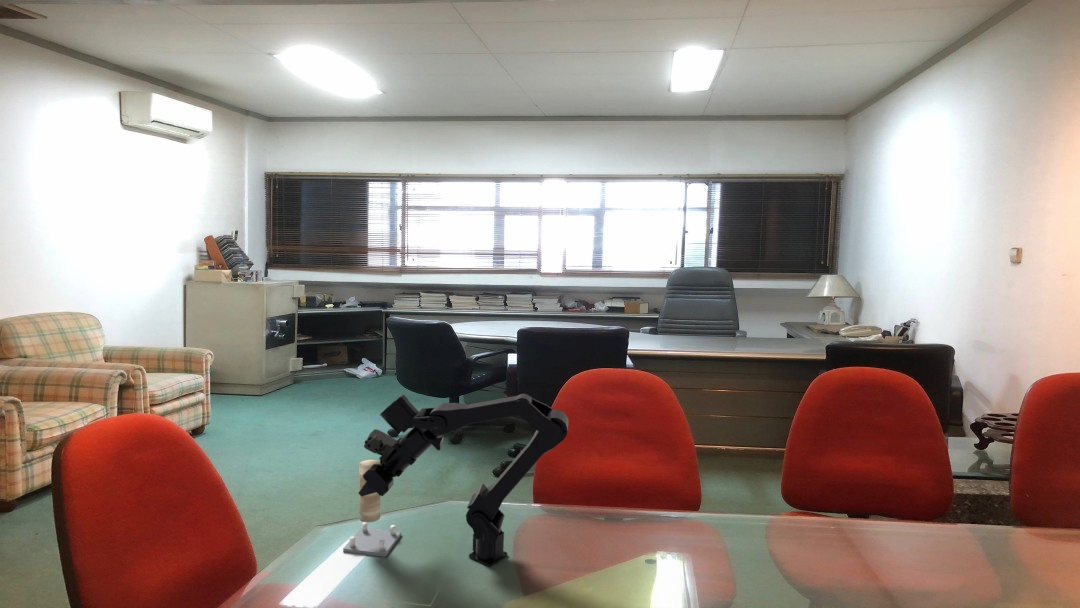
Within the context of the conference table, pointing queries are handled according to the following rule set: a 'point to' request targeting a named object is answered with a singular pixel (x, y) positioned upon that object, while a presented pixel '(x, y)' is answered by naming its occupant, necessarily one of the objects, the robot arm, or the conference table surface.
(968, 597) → the conference table surface
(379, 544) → the peg plate
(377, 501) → the birch post
